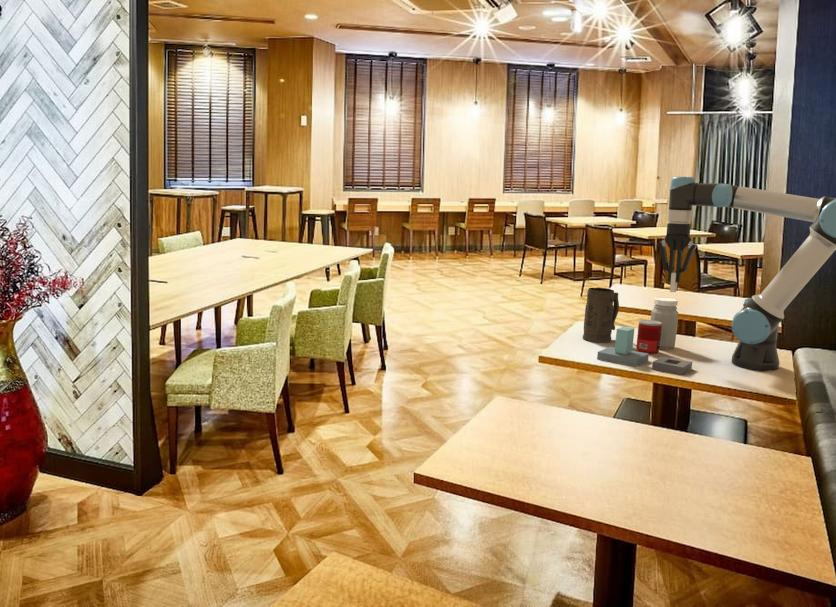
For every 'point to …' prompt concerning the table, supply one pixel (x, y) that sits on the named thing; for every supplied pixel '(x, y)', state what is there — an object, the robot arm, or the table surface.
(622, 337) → the plug
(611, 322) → the beer stein
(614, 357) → the port panel
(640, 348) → the canned food
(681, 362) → the hollow square frame
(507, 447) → the table surface
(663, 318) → the jar
